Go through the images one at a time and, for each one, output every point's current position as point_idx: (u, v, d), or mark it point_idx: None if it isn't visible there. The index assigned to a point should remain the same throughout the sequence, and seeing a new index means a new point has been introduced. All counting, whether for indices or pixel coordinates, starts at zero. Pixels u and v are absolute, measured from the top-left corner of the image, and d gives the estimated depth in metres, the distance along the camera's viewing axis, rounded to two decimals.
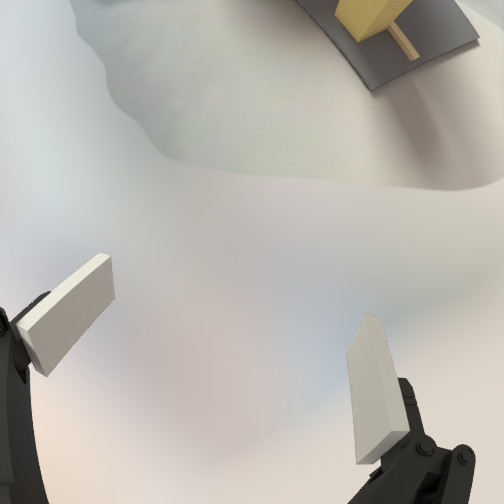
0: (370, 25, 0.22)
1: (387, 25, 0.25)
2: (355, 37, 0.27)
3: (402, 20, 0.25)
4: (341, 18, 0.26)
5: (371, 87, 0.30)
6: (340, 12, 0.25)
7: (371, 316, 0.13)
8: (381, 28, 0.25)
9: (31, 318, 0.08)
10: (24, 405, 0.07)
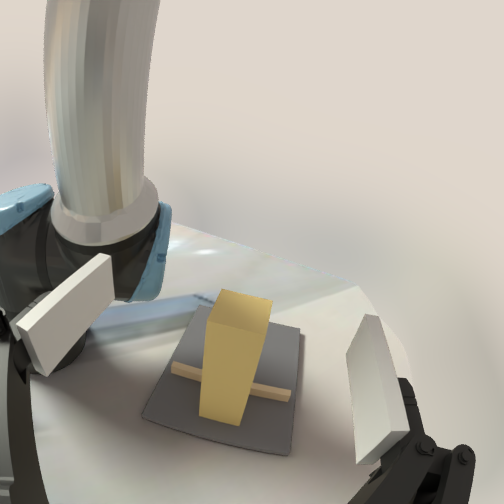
0: (247, 397, 0.27)
1: None
2: (234, 423, 0.30)
3: None
4: (209, 414, 0.30)
5: (286, 452, 0.28)
6: (206, 407, 0.29)
7: (371, 316, 0.13)
8: None
9: (31, 318, 0.08)
10: (24, 405, 0.07)
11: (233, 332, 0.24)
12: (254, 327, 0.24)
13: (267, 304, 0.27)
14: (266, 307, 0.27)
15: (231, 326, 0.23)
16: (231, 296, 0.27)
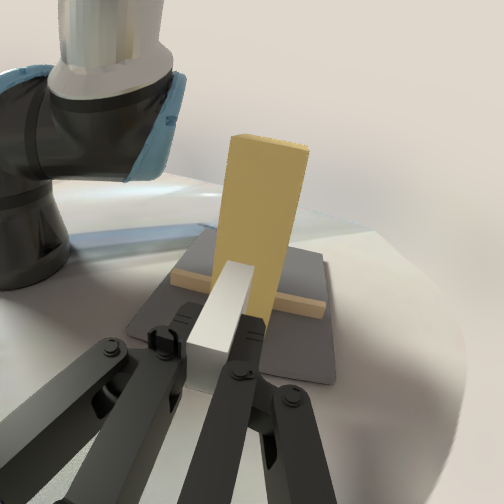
0: (279, 279, 0.21)
1: None
2: None
3: None
4: None
5: (331, 377, 0.22)
6: None
7: (246, 265, 0.15)
8: None
9: (202, 333, 0.10)
10: (160, 436, 0.08)
11: (265, 151, 0.18)
12: (292, 147, 0.18)
13: (302, 145, 0.21)
14: (301, 145, 0.21)
15: (264, 141, 0.17)
16: (257, 136, 0.21)
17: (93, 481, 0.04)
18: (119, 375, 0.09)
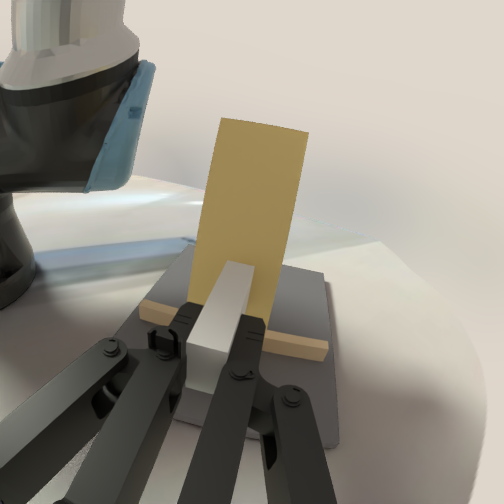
0: None
1: None
2: None
3: None
4: None
5: (334, 441, 0.16)
6: None
7: (246, 265, 0.15)
8: None
9: (202, 333, 0.10)
10: (160, 436, 0.08)
11: (259, 132, 0.15)
12: None
13: None
14: None
15: (257, 123, 0.15)
16: None
17: (93, 481, 0.04)
18: (119, 375, 0.09)
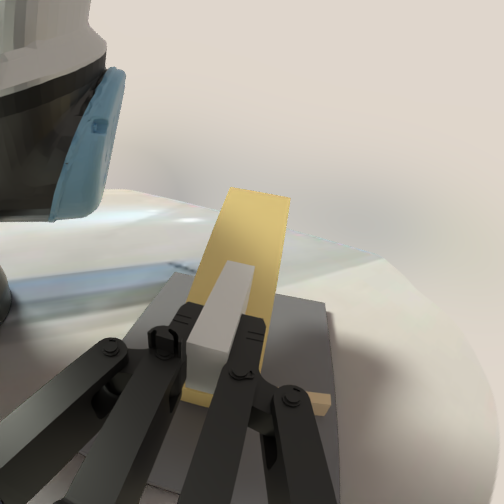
0: (273, 298, 0.17)
1: None
2: None
3: None
4: None
5: None
6: None
7: (246, 265, 0.15)
8: None
9: (202, 333, 0.10)
10: (159, 436, 0.08)
11: (257, 196, 0.23)
12: None
13: None
14: None
15: (255, 191, 0.24)
16: None
17: (93, 481, 0.04)
18: (119, 375, 0.09)
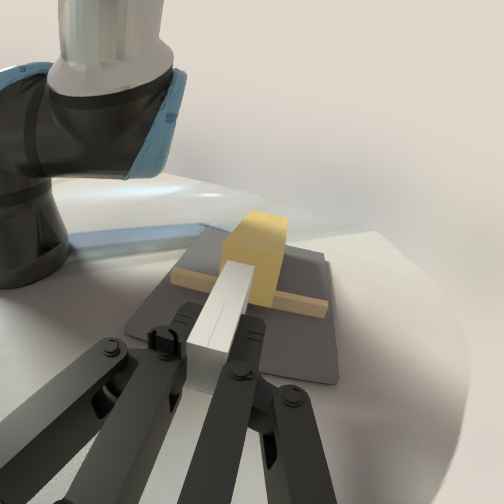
0: (285, 236, 0.30)
1: None
2: (276, 250, 0.24)
3: None
4: (241, 240, 0.25)
5: (334, 377, 0.21)
6: (238, 236, 0.26)
7: (246, 265, 0.15)
8: None
9: (202, 333, 0.10)
10: (159, 436, 0.08)
11: (268, 214, 0.38)
12: None
13: None
14: None
15: (267, 213, 0.39)
16: None
17: (93, 481, 0.04)
18: (119, 375, 0.09)
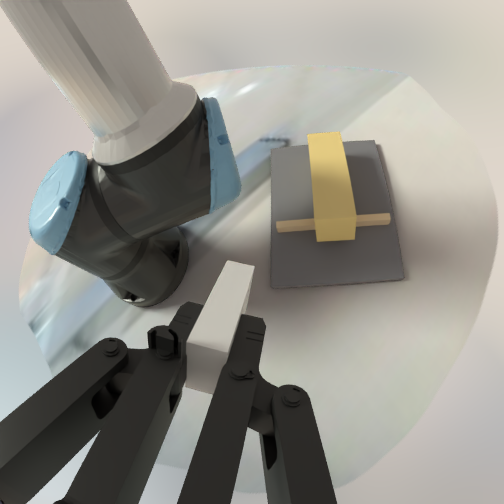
0: (349, 176, 0.35)
1: None
2: (350, 213, 0.32)
3: None
4: (324, 210, 0.33)
5: (401, 277, 0.35)
6: (319, 202, 0.34)
7: (246, 265, 0.15)
8: None
9: (202, 333, 0.10)
10: (160, 436, 0.08)
11: (322, 135, 0.40)
12: None
13: None
14: None
15: (321, 133, 0.40)
16: None
17: (93, 481, 0.04)
18: (119, 375, 0.09)
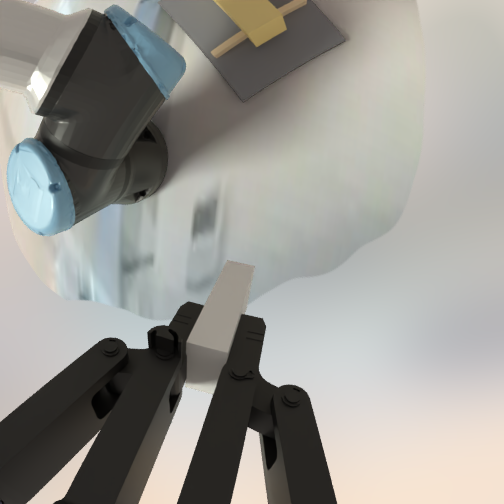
0: None
1: None
2: (274, 13, 0.26)
3: None
4: (251, 23, 0.27)
5: (343, 40, 0.31)
6: (242, 18, 0.27)
7: (246, 265, 0.15)
8: None
9: (202, 333, 0.10)
10: (160, 436, 0.08)
11: None
12: None
13: None
14: None
15: None
16: None
17: (93, 481, 0.04)
18: (119, 375, 0.09)
